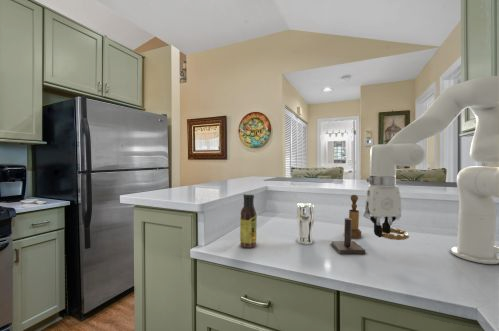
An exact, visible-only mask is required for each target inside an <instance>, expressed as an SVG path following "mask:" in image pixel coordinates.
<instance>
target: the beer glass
mask: <svg viewBox="0 0 499 331" xmlns="http://www.w3.org/2000/svg"><path fill="white" fill-rule="evenodd" d="M314 223H315V205H314V204H312V203H297V204H296V225H297V237H296V238H297V239H296V241H297V243H298V244H302V245H311V244H313V241H314V240H313V236H312V233H313V227H314Z"/></svg>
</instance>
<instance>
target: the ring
mask: <svg viewBox="0 0 499 331" xmlns="http://www.w3.org/2000/svg"><path fill="white" fill-rule="evenodd" d="M409 234H410V233H408V232H407V231H405V230H404V229H400V228H396V227H390V234H388V233H384V232H382V237H381V238H384V239H388V240H392V241H393V240H394V241H405V240H408V239H409V238H410V235H409Z"/></svg>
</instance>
